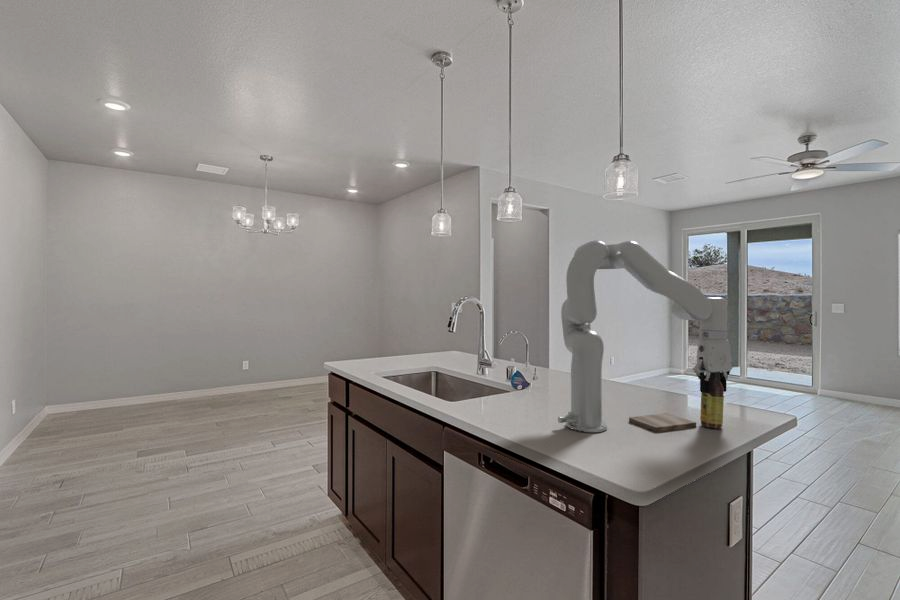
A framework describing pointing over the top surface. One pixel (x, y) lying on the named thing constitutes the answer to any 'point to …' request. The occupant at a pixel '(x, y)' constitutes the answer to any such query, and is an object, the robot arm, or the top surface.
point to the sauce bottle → (713, 403)
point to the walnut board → (662, 422)
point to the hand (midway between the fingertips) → (713, 391)
